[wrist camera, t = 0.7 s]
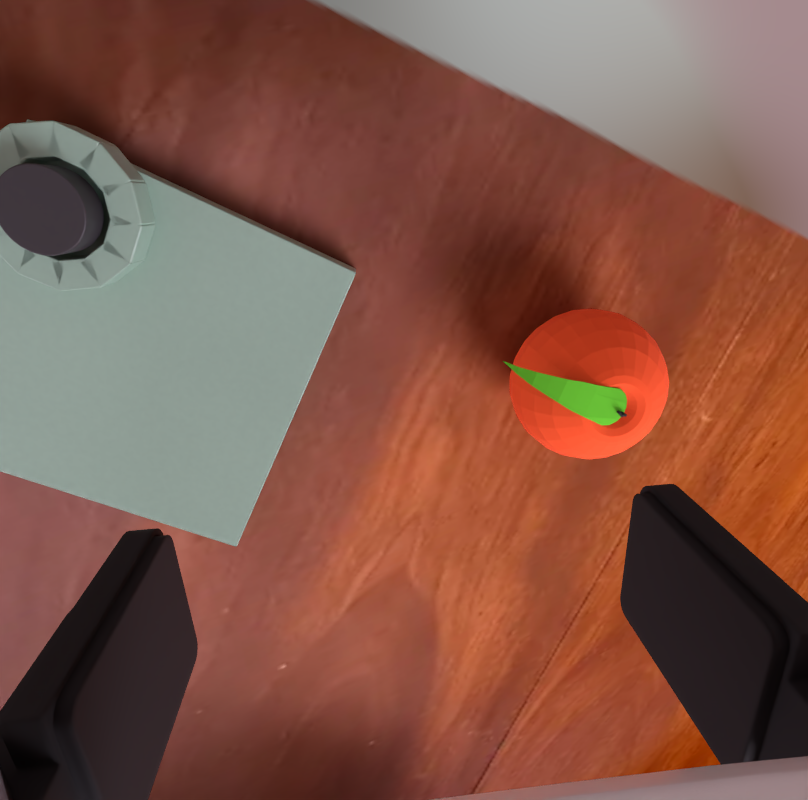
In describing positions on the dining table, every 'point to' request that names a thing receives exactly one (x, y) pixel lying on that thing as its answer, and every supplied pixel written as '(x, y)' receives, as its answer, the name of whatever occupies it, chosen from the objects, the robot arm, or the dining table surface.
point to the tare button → (49, 209)
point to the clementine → (589, 383)
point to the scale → (155, 344)
